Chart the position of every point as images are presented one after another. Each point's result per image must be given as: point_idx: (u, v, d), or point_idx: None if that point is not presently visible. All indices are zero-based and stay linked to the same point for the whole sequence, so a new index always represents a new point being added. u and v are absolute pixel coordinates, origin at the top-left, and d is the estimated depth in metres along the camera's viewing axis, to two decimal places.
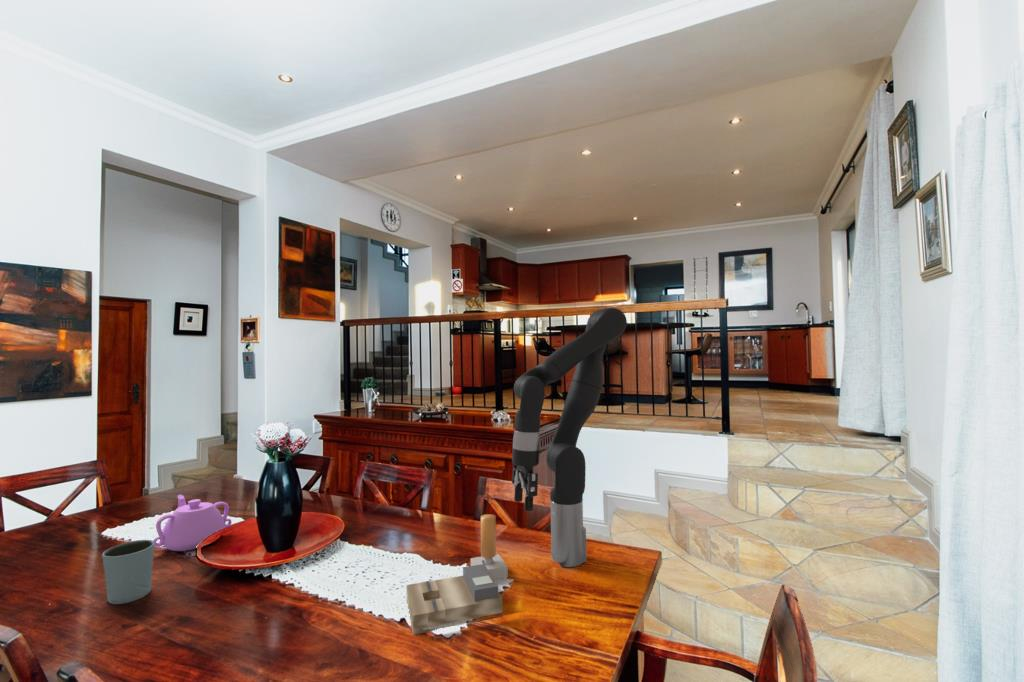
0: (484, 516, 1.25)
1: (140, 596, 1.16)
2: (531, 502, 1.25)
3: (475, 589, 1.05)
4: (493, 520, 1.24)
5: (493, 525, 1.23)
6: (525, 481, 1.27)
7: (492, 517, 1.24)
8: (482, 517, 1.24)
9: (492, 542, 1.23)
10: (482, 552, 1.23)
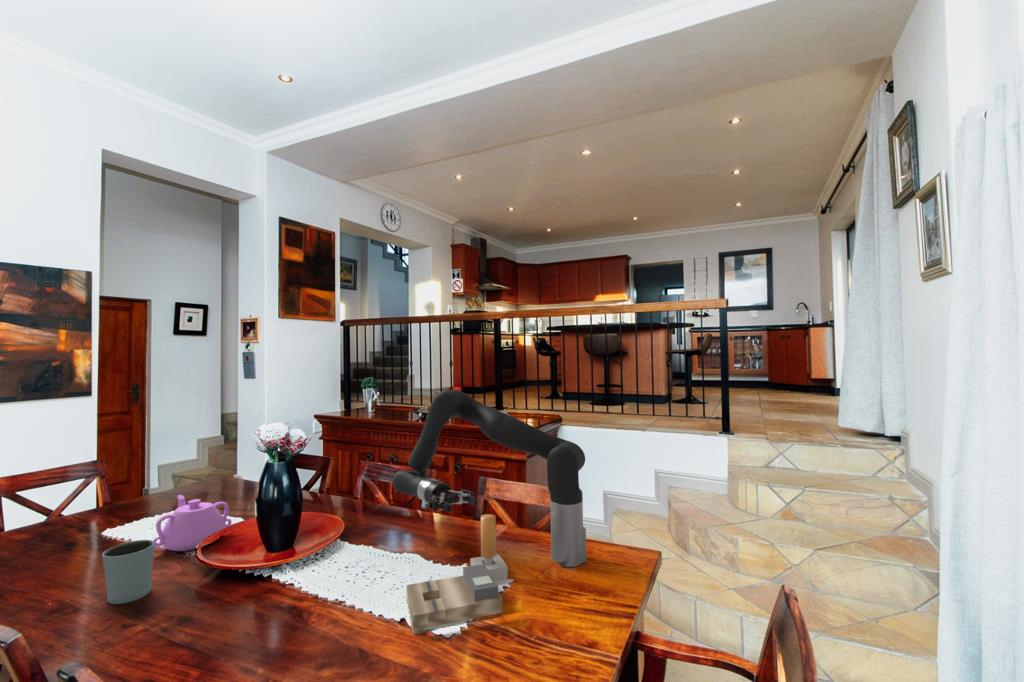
0: (484, 516, 1.25)
1: (140, 596, 1.16)
2: (443, 506, 1.32)
3: (475, 589, 1.05)
4: (493, 520, 1.24)
5: (493, 525, 1.23)
6: None
7: (492, 517, 1.24)
8: (482, 517, 1.24)
9: (492, 542, 1.23)
10: (482, 552, 1.23)
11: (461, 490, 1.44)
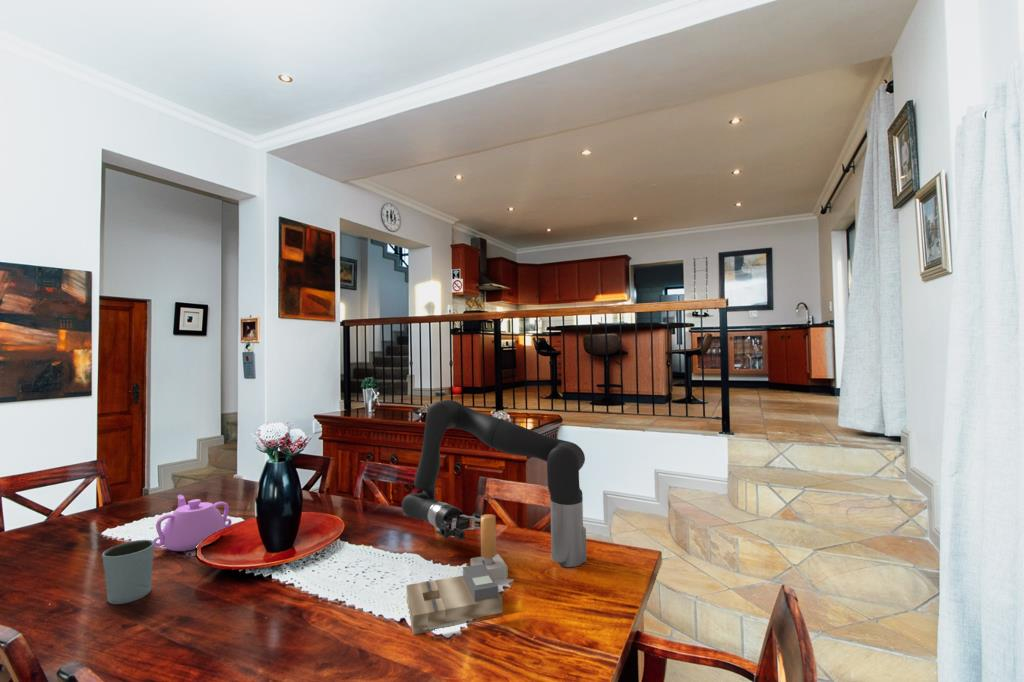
0: (484, 516, 1.25)
1: (140, 596, 1.16)
2: (455, 533, 1.27)
3: (475, 589, 1.05)
4: (493, 520, 1.24)
5: (493, 525, 1.23)
6: None
7: (492, 517, 1.24)
8: (482, 517, 1.24)
9: (492, 542, 1.23)
10: (482, 552, 1.23)
11: (473, 514, 1.40)
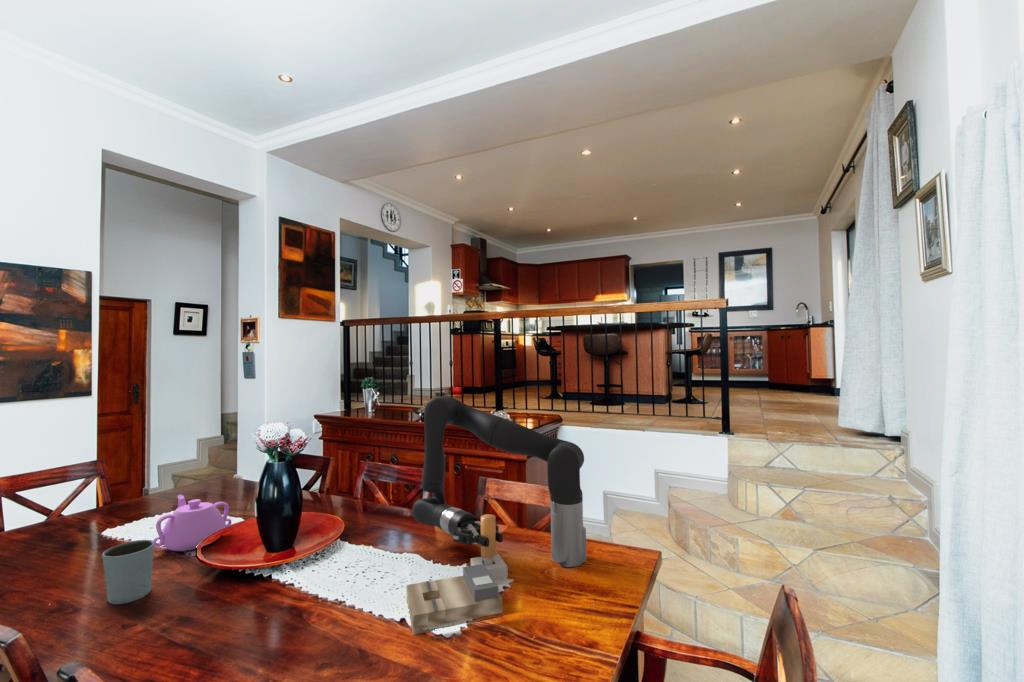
0: (484, 516, 1.25)
1: (140, 596, 1.16)
2: (479, 540, 1.22)
3: (475, 589, 1.05)
4: (493, 520, 1.23)
5: (493, 525, 1.23)
6: None
7: (492, 517, 1.24)
8: (482, 517, 1.24)
9: (492, 542, 1.23)
10: (482, 552, 1.23)
11: None
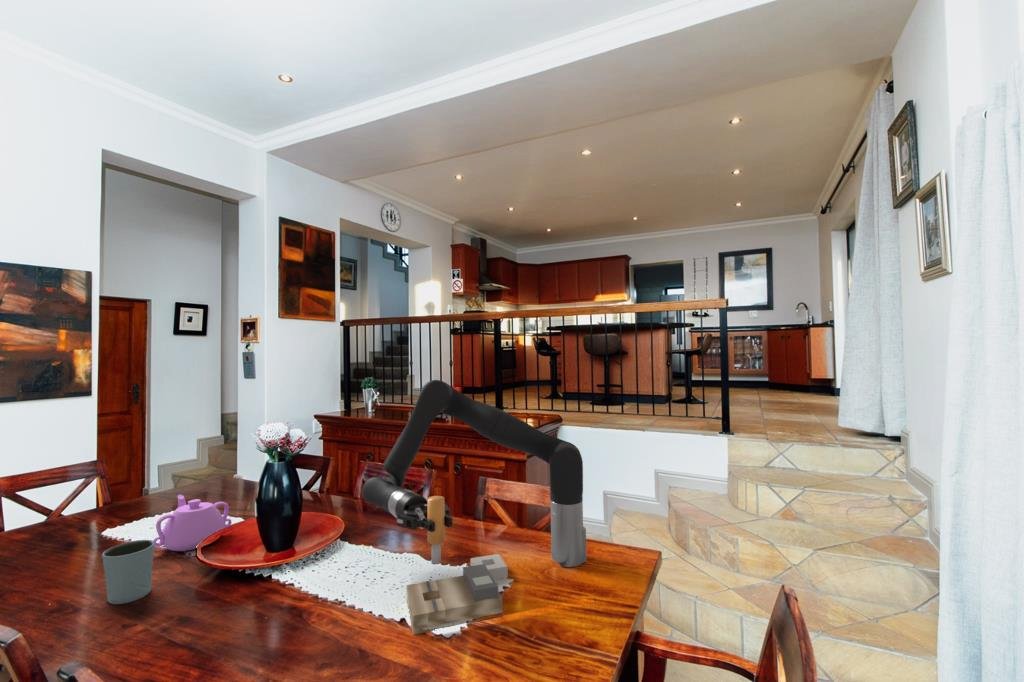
0: (432, 498, 1.11)
1: (140, 596, 1.16)
2: (424, 524, 1.08)
3: (475, 589, 1.05)
4: (441, 502, 1.09)
5: (441, 508, 1.09)
6: None
7: (441, 499, 1.10)
8: (429, 499, 1.10)
9: (439, 527, 1.09)
10: (428, 538, 1.09)
11: None
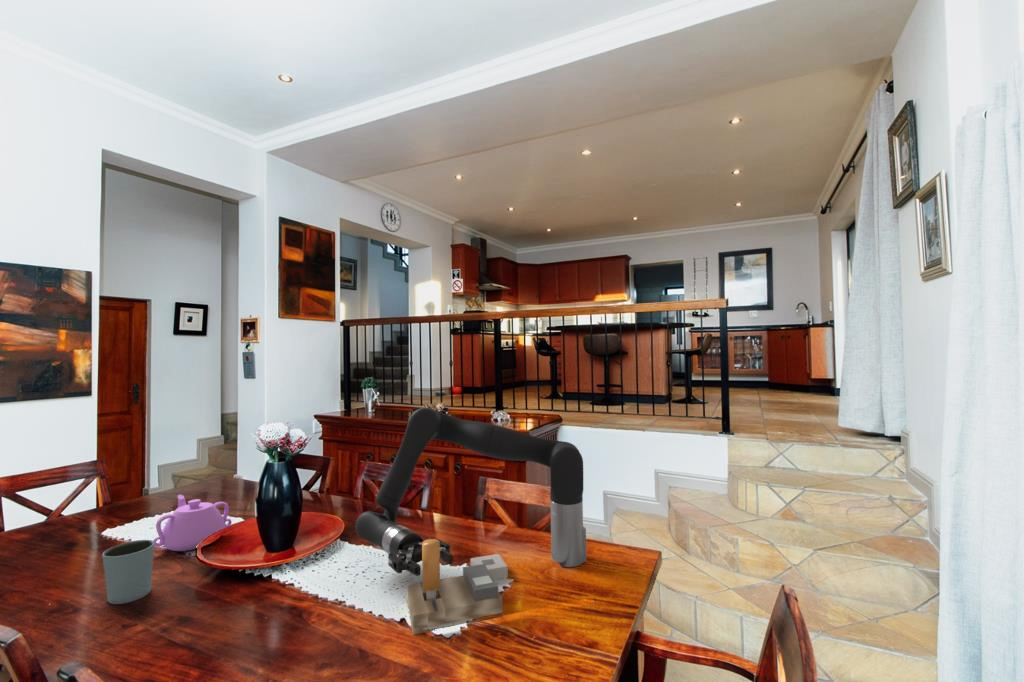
0: (426, 541, 1.09)
1: (140, 596, 1.16)
2: (409, 567, 1.05)
3: (475, 589, 1.05)
4: (436, 546, 1.07)
5: (436, 552, 1.07)
6: None
7: (435, 543, 1.08)
8: (424, 543, 1.08)
9: (435, 572, 1.07)
10: (423, 584, 1.07)
11: None
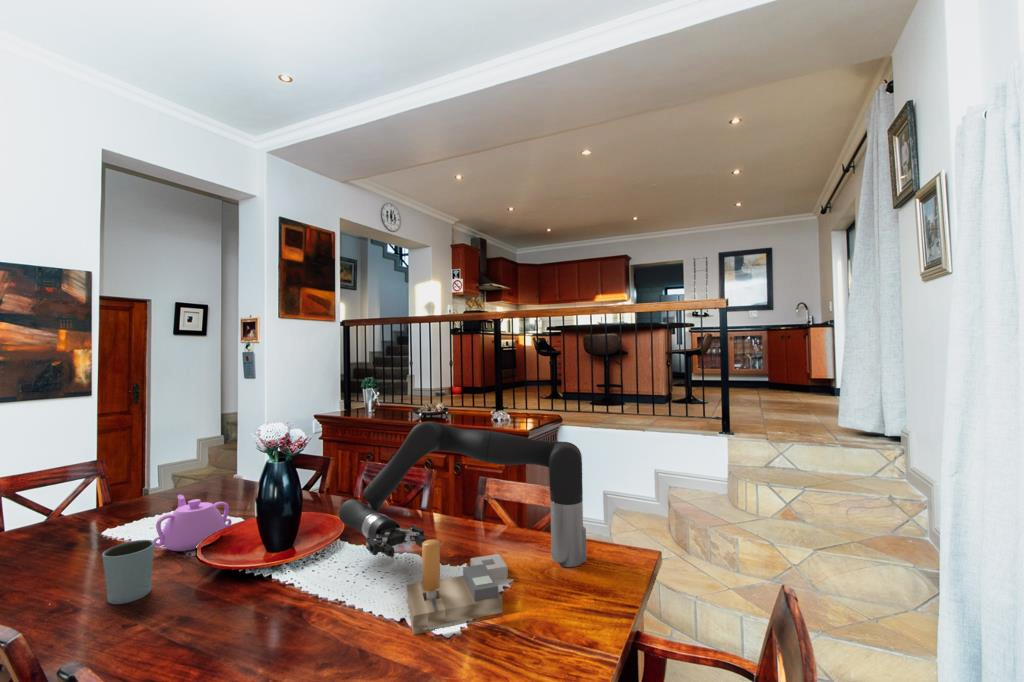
0: (426, 542, 1.08)
1: (140, 596, 1.16)
2: (384, 549, 1.14)
3: (475, 589, 1.05)
4: (436, 547, 1.07)
5: (436, 553, 1.07)
6: None
7: (436, 544, 1.07)
8: (424, 543, 1.08)
9: (435, 572, 1.06)
10: (423, 584, 1.07)
11: (411, 527, 1.27)
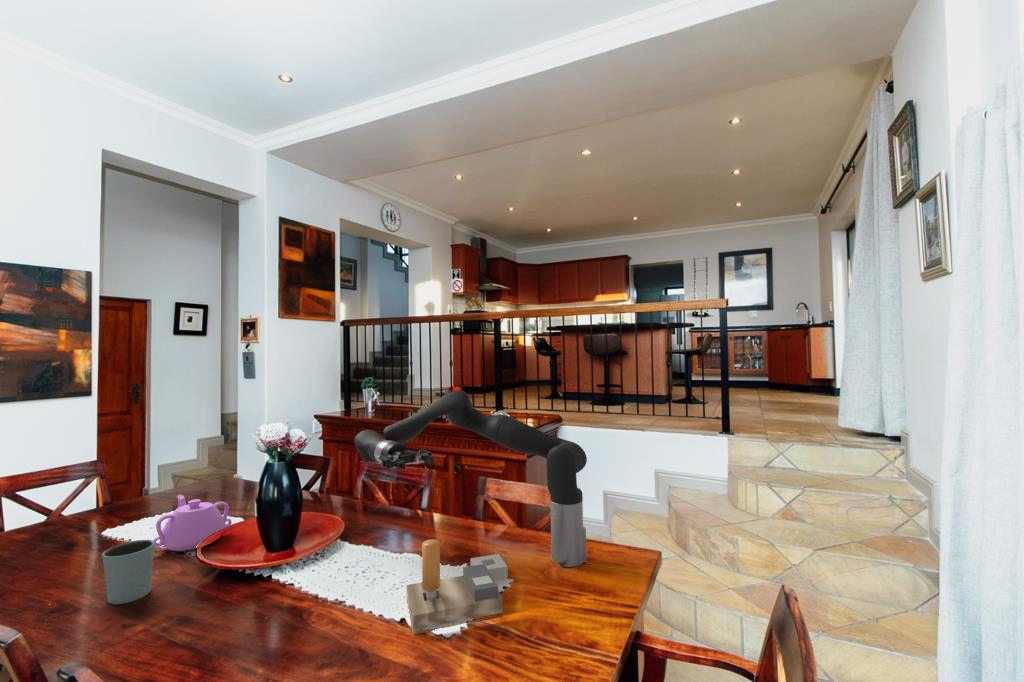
0: (426, 542, 1.08)
1: (140, 596, 1.16)
2: (396, 463, 1.26)
3: (475, 589, 1.05)
4: (436, 547, 1.07)
5: (436, 553, 1.07)
6: None
7: (436, 544, 1.07)
8: (424, 543, 1.08)
9: (435, 572, 1.06)
10: (423, 584, 1.07)
11: (419, 451, 1.38)
